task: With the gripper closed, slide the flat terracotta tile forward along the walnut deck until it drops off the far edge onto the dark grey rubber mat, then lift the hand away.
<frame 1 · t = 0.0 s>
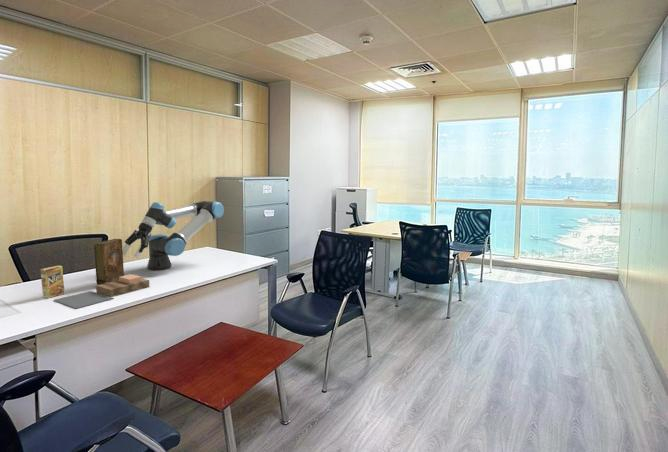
hand: (129, 255, 234), 15 cm above the table, tool tilted 35°, fingers open, 13 cm apart
tile: (130, 281, 221), point 4 cm above the table, touching deck
book: (111, 283, 231), on the table
deck: (123, 289, 218), on the table
mat: (84, 299, 200), on the table
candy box: (54, 296, 206), on the table
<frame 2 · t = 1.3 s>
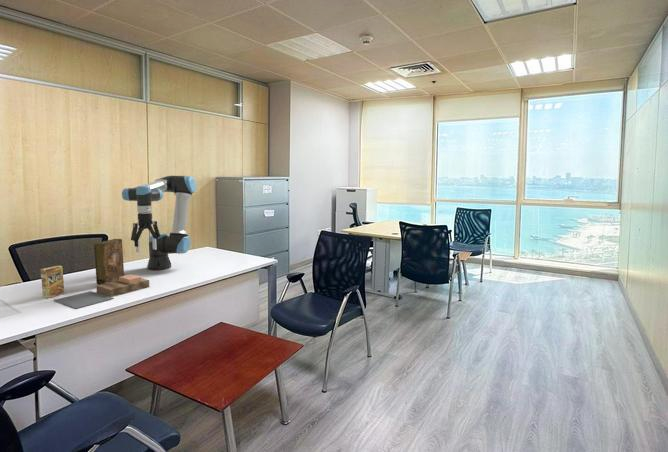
hand: (146, 250, 228), 20 cm above the table, tool pointing down, fingers open, 10 cm apart
nothing on the table moved.
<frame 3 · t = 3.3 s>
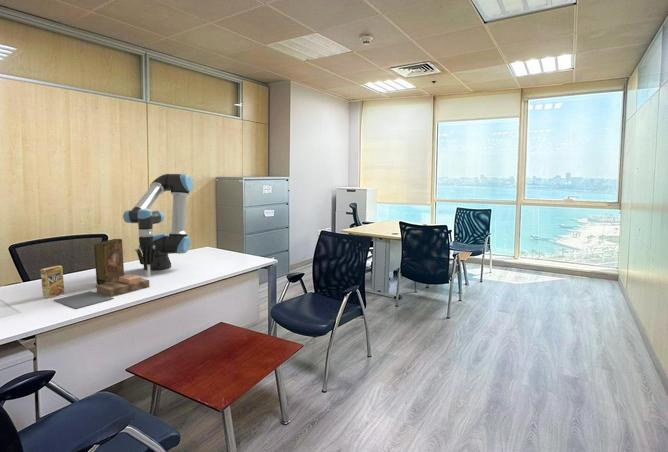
hand: (147, 275, 230), 5 cm above the table, tool pointing down, fingers closed
nothing on the table moved.
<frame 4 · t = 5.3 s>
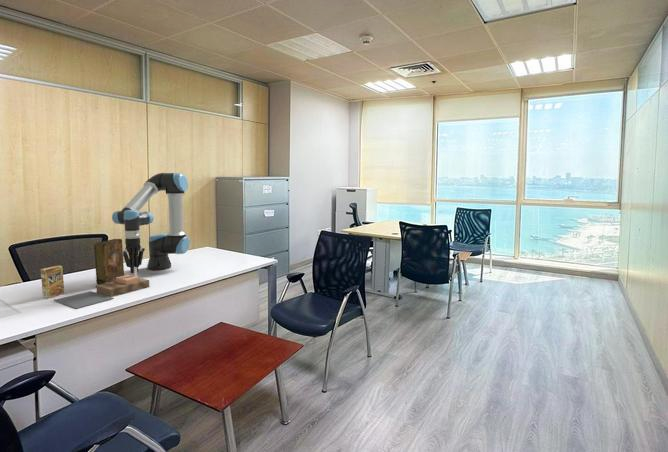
hand: (134, 278, 223), 5 cm above the table, tool pointing down, fingers closed
tile: (127, 281, 219), point 4 cm above the table, touching deck
everything else where it was.
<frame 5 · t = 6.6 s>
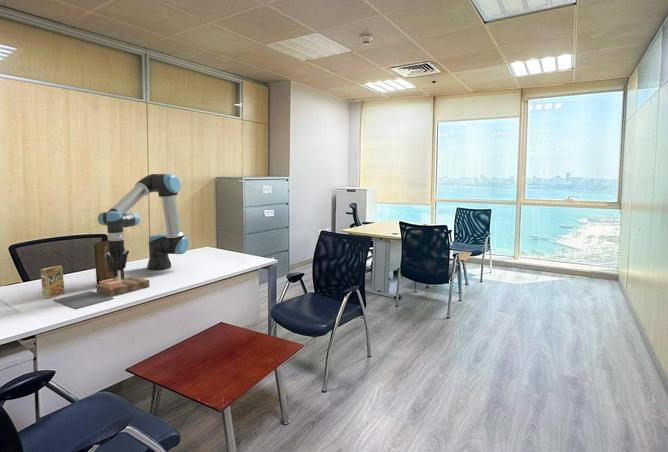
hand: (118, 281, 215), 5 cm above the table, tool pointing down, fingers closed
tile: (110, 285, 211), point 4 cm above the table, touching deck, gripper
everything else where it was.
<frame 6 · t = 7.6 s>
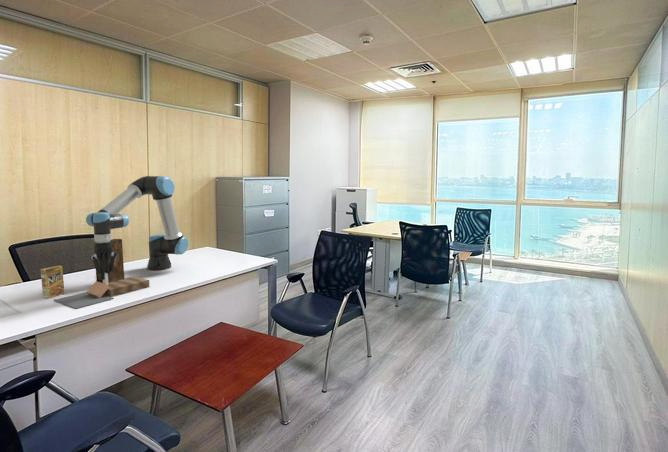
hand: (105, 284, 209), 5 cm above the table, tool pointing down, fingers closed
tile: (99, 290, 206), point 3 cm above the table, tilted 40°, touching gripper
everything else where it was.
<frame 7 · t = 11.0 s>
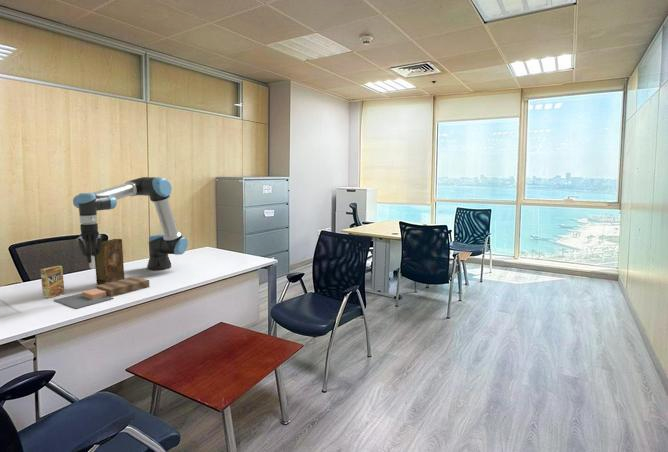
hand: (92, 268, 202), 16 cm above the table, tool pointing down, fingers closed
tile: (94, 296, 205), resting on mat
everything else where it was.
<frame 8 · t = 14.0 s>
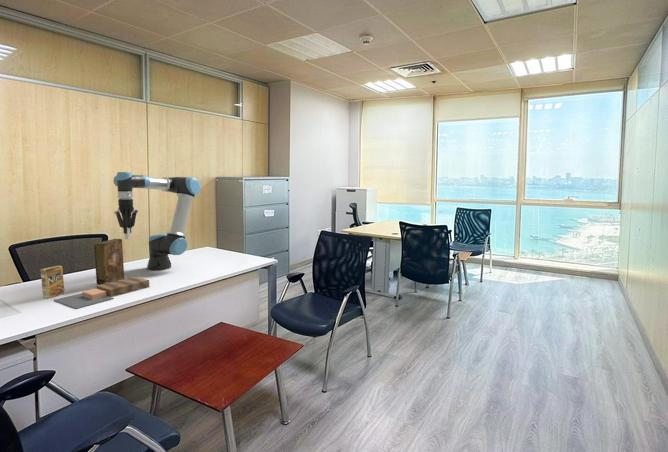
hand: (127, 238, 228), 26 cm above the table, tool pointing down, fingers closed
nothing on the table moved.
at the end: tile inside the target area on the mat (5.3 cm from its centre), point 0.5 cm above the mat's base; tile point 0.5 cm above the table; tile moved 20.0 cm from its start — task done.
